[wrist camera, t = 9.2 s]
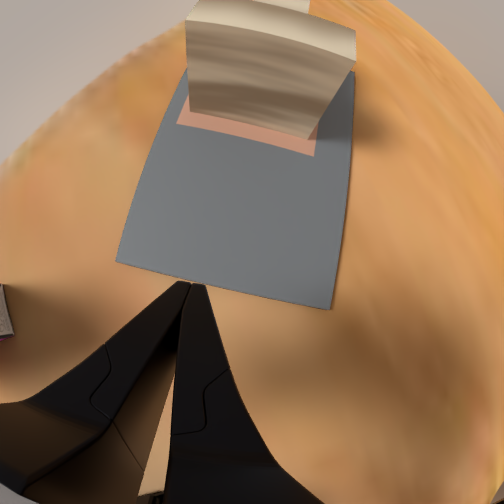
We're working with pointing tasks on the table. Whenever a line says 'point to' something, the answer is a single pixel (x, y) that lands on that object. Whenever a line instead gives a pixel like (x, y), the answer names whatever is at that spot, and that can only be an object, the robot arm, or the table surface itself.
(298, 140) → the slate board
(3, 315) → the candy bar box
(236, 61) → the maple T block
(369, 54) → the table surface
